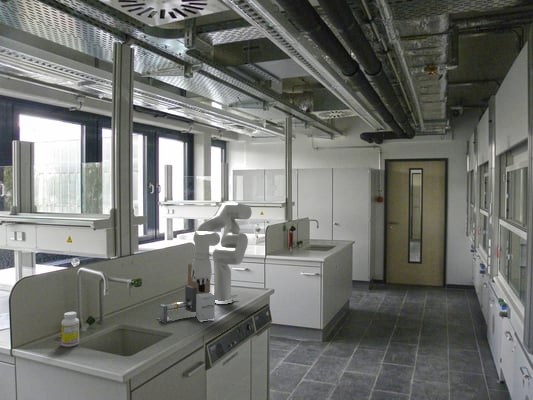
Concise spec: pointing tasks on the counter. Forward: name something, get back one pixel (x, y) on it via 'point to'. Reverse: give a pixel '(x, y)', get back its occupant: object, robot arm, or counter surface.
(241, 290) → the counter surface
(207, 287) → the block
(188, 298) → the grey upright panel
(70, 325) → the supplement bottle
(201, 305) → the supplement box
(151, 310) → the counter surface
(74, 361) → the counter surface
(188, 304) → the pipe rig
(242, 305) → the counter surface
